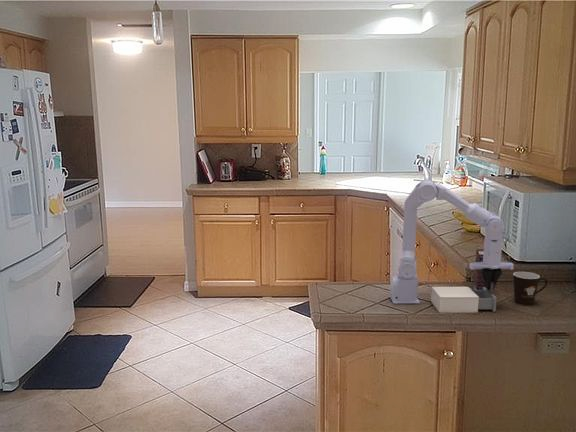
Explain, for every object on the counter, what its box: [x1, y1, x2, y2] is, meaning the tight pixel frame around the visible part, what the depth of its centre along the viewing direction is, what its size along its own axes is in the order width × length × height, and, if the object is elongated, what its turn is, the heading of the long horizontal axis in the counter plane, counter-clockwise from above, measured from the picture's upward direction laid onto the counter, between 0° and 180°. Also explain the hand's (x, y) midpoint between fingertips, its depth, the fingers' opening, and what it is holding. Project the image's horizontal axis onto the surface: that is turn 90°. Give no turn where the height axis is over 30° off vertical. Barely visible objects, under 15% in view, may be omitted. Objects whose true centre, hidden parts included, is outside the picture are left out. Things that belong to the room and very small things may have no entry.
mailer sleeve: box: [430, 286, 479, 314], centre depth 190 cm, size 13×11×6 cm
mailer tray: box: [471, 281, 497, 312], centre depth 190 cm, size 13×11×9 cm
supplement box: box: [473, 248, 486, 290], centre depth 204 cm, size 9×5×16 cm, turn 168°
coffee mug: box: [512, 271, 548, 306], centre depth 194 cm, size 12×9×10 cm
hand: (489, 289), depth 189 cm, fingers closed, pressing on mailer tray
